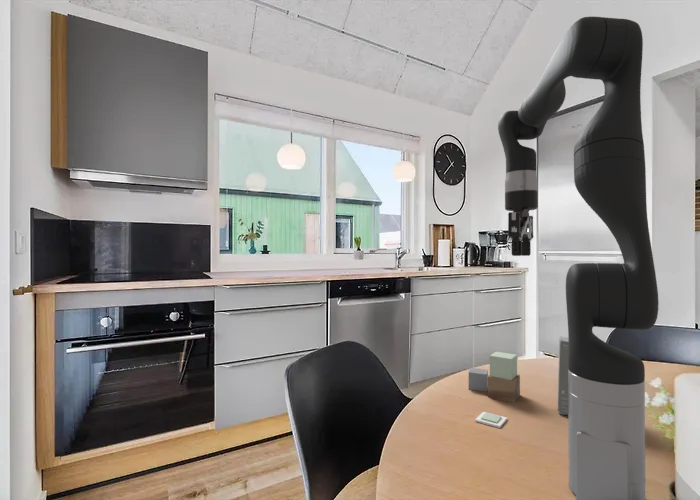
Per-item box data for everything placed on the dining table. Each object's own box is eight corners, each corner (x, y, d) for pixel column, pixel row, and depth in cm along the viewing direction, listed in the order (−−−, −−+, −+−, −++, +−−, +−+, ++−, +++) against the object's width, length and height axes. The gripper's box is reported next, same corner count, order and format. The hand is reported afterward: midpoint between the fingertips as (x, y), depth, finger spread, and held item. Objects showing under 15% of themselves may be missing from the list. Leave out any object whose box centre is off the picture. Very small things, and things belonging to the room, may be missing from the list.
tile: (499, 428, 77) (499, 424, 77) (475, 421, 80) (475, 418, 80) (507, 419, 81) (507, 416, 81) (483, 413, 84) (483, 410, 84)
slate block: (486, 392, 97) (486, 374, 97) (468, 389, 99) (468, 372, 99) (488, 386, 101) (487, 369, 101) (470, 384, 103) (470, 367, 103)
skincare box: (558, 414, 83) (557, 340, 84) (557, 403, 90) (557, 334, 90) (604, 422, 80) (604, 345, 80) (601, 410, 86) (600, 338, 86)
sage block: (511, 380, 91) (511, 359, 91) (489, 376, 94) (489, 355, 94) (517, 375, 95) (517, 354, 95) (496, 371, 98) (496, 351, 98)
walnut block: (514, 402, 90) (514, 381, 90) (487, 397, 94) (487, 376, 94) (520, 395, 95) (519, 374, 95) (494, 390, 99) (494, 370, 99)
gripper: (530, 185, 89) (530, 256, 89) (543, 192, 100) (543, 255, 100) (496, 188, 94) (497, 256, 93) (513, 195, 105) (513, 255, 105)
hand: (521, 255), depth 97 cm, fingers open, 8 cm apart
